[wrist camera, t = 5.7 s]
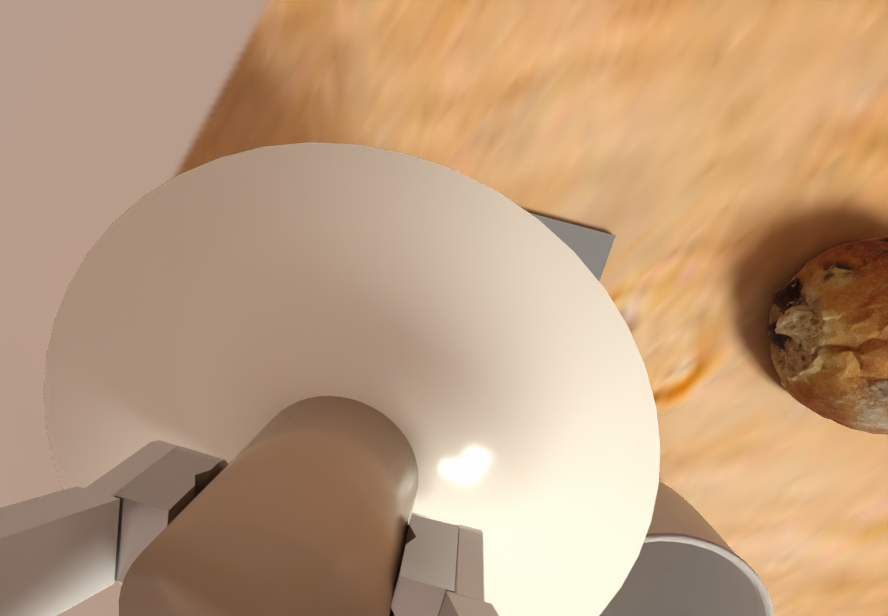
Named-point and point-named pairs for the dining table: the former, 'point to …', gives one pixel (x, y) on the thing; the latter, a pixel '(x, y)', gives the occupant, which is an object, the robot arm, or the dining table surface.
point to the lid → (355, 386)
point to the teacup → (687, 570)
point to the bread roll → (836, 335)
